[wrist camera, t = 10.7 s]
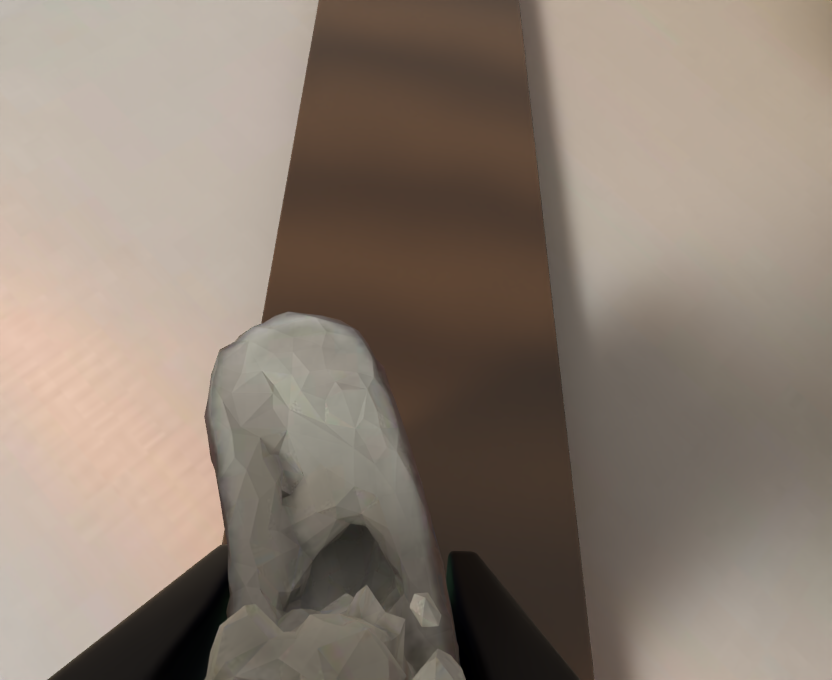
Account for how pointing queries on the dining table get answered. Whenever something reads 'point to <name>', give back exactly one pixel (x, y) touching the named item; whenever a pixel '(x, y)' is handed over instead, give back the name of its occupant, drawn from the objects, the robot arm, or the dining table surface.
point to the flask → (322, 514)
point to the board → (443, 275)
